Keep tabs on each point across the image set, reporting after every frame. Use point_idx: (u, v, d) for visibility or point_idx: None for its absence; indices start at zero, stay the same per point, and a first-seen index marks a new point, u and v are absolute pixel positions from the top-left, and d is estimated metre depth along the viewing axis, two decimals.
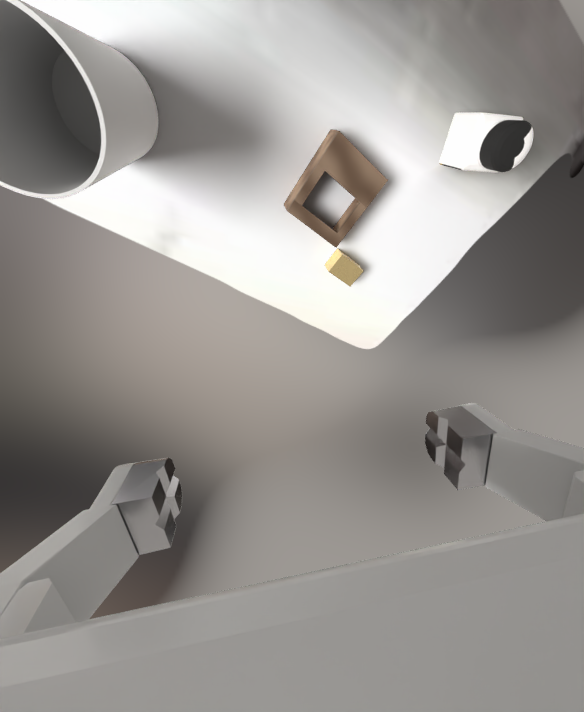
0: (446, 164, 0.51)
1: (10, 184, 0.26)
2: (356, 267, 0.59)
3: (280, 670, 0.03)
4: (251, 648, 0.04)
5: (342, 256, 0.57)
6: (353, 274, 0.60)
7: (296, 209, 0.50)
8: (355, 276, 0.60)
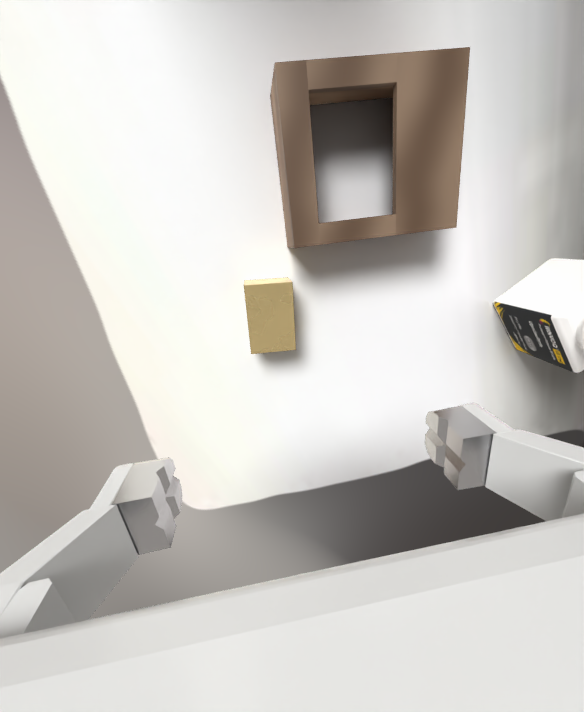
0: (512, 305, 0.29)
1: None
2: (291, 331, 0.27)
3: (280, 670, 0.03)
4: (251, 648, 0.04)
5: (289, 285, 0.25)
6: (275, 337, 0.27)
7: (293, 83, 0.19)
8: (275, 344, 0.27)
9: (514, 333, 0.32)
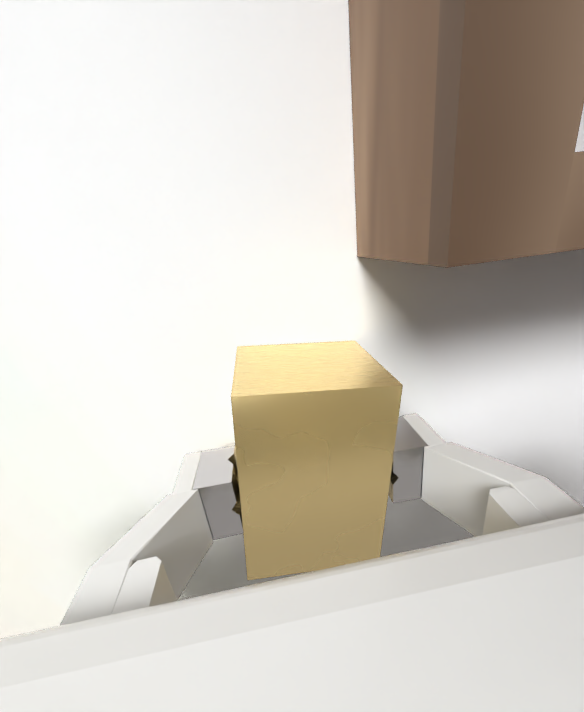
0: None
1: None
2: (374, 519, 0.09)
3: (280, 670, 0.03)
4: (251, 648, 0.04)
5: (391, 397, 0.07)
6: (325, 537, 0.09)
7: None
8: (323, 553, 0.09)
9: None
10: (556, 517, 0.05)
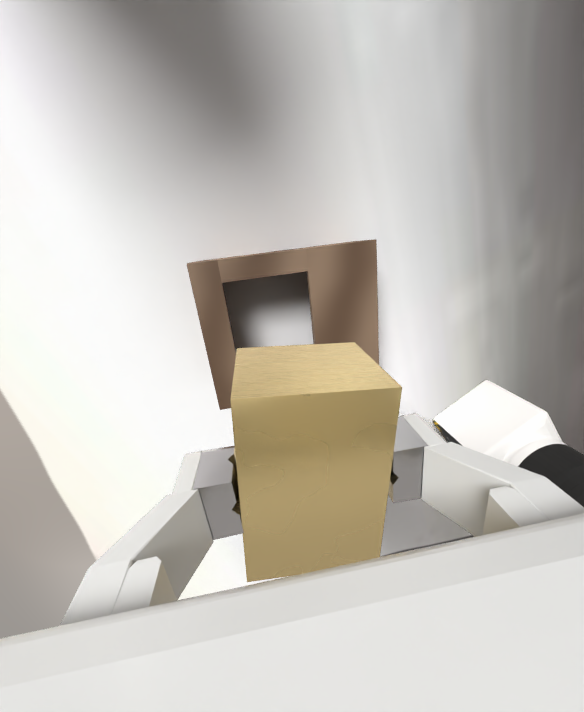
0: (447, 430, 0.30)
1: None
2: (373, 521, 0.09)
3: (280, 670, 0.03)
4: (251, 648, 0.04)
5: (391, 399, 0.07)
6: (325, 539, 0.09)
7: (206, 278, 0.20)
8: (322, 555, 0.09)
9: None
10: (556, 517, 0.05)
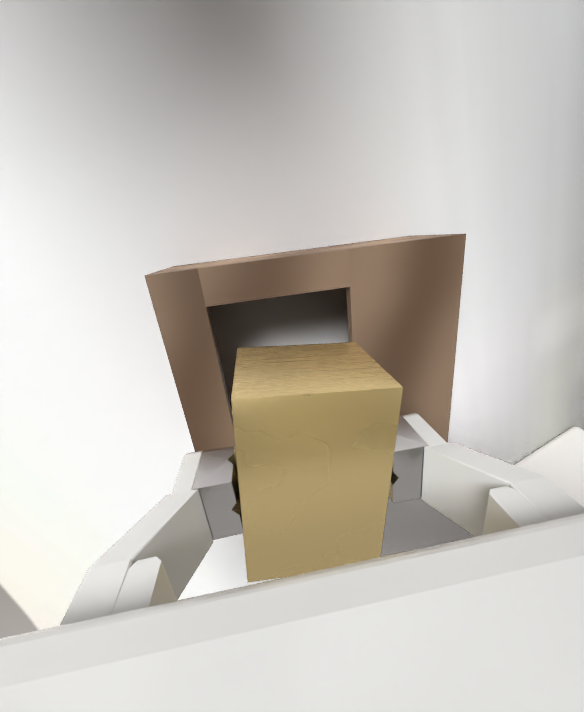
0: None
1: None
2: (374, 521, 0.09)
3: (280, 670, 0.03)
4: (251, 648, 0.04)
5: (392, 399, 0.07)
6: (325, 539, 0.09)
7: (179, 300, 0.12)
8: (323, 555, 0.09)
9: None
10: (556, 517, 0.05)
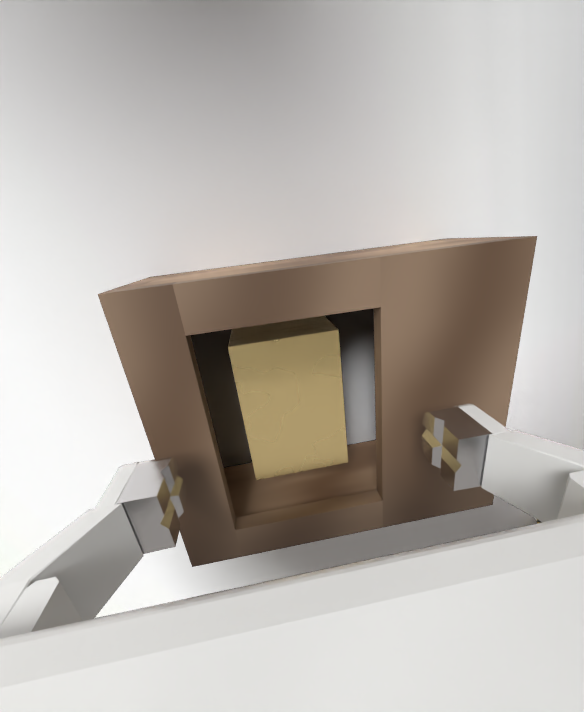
0: None
1: None
2: (338, 429, 0.12)
3: (280, 670, 0.03)
4: (251, 648, 0.04)
5: (332, 338, 0.11)
6: (305, 444, 0.12)
7: (148, 328, 0.09)
8: (306, 457, 0.13)
9: None
10: None
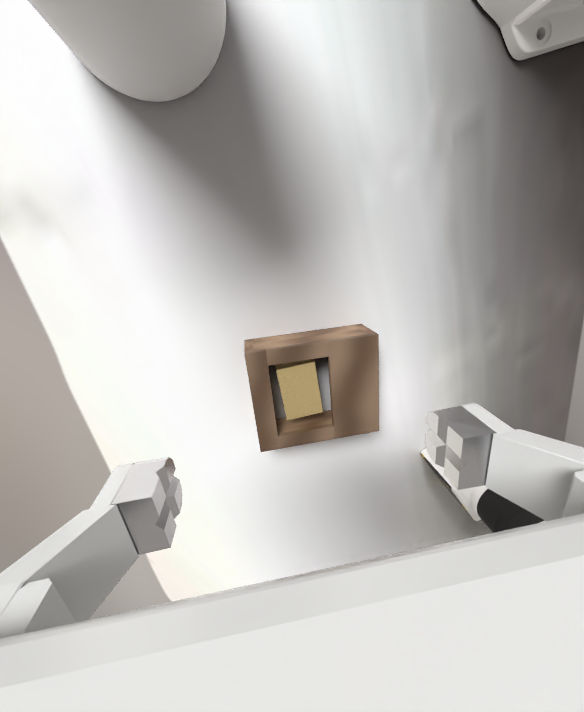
0: (431, 463, 0.38)
1: None
2: (317, 398, 0.32)
3: (280, 670, 0.03)
4: (251, 648, 0.04)
5: (312, 364, 0.31)
6: (305, 405, 0.32)
7: (257, 363, 0.28)
8: (306, 410, 0.32)
9: (437, 475, 0.41)
10: None
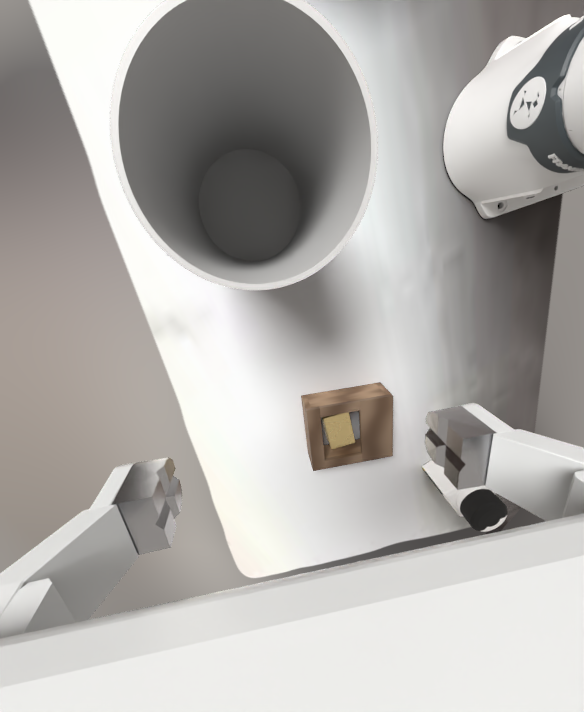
0: (429, 475, 0.54)
1: (131, 186, 0.14)
2: (351, 434, 0.47)
3: (280, 670, 0.03)
4: (251, 648, 0.04)
5: (347, 413, 0.46)
6: (343, 439, 0.48)
7: (314, 416, 0.44)
8: (344, 442, 0.48)
9: None
10: None
